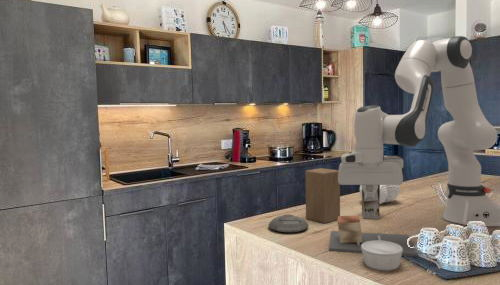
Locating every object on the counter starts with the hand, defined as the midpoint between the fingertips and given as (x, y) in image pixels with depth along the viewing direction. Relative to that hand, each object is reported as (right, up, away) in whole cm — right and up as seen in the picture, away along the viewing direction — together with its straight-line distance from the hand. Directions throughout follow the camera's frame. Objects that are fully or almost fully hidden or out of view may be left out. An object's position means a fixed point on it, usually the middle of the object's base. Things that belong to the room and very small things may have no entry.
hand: (370, 198), depth 125 cm
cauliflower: (+23, -11, +56) cm, 61 cm away
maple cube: (-6, -7, +2) cm, 10 cm away
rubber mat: (0, -15, +1) cm, 15 cm away
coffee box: (+11, -13, +34) cm, 38 cm away
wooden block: (-9, -13, +31) cm, 35 cm away
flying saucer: (-25, -15, +20) cm, 35 cm away
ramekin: (-2, -17, -16) cm, 23 cm away
